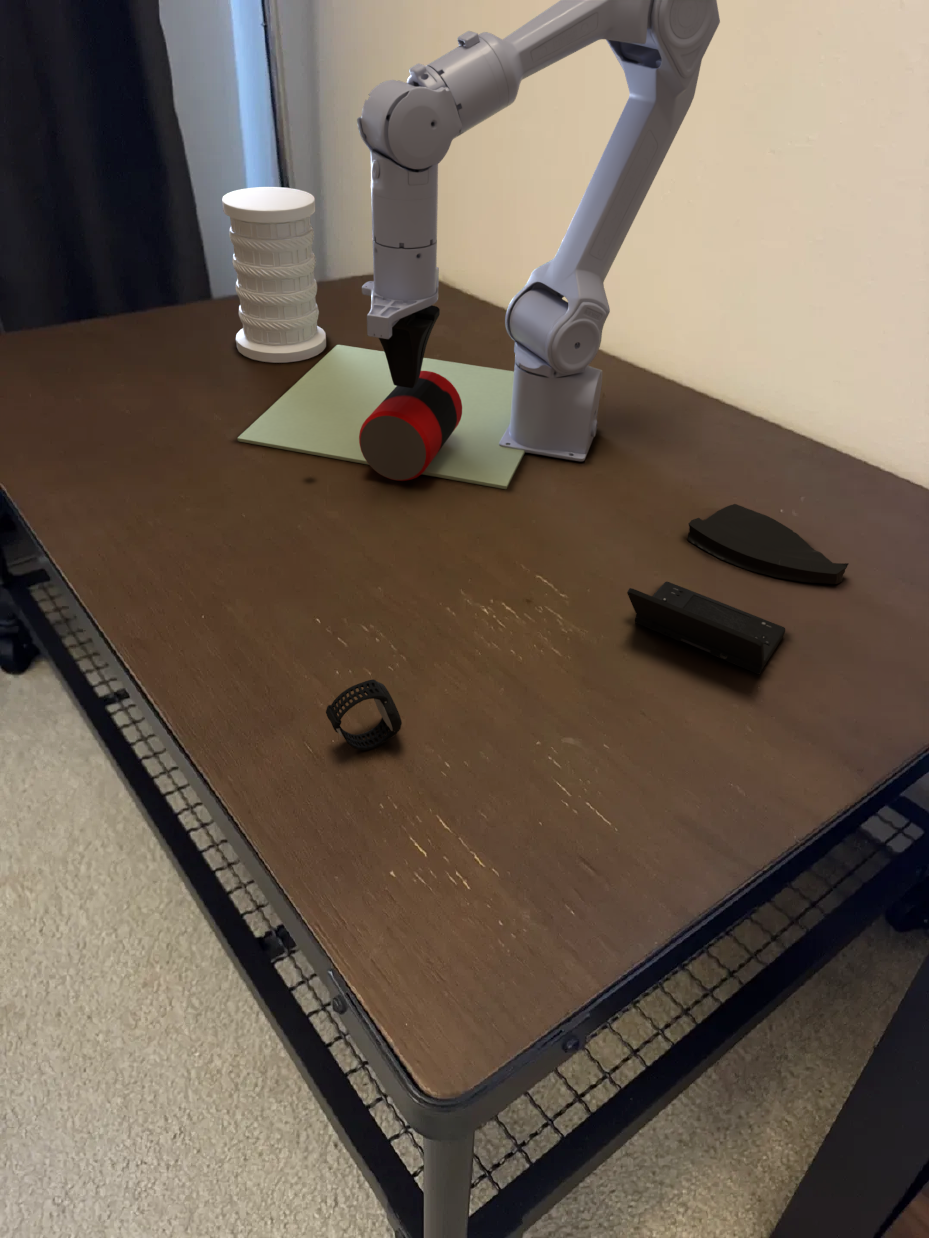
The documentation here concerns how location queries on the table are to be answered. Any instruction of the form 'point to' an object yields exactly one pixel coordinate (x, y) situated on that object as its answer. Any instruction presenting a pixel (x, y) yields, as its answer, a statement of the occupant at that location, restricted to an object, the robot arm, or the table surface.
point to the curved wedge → (762, 546)
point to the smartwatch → (384, 706)
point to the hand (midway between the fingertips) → (405, 384)
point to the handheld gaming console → (708, 625)
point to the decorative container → (275, 273)
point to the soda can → (410, 427)
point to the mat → (359, 382)
